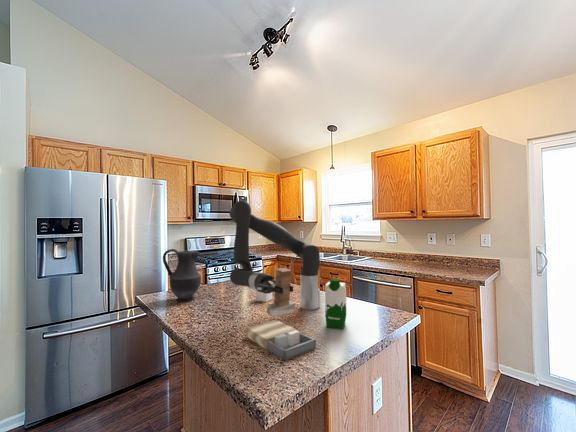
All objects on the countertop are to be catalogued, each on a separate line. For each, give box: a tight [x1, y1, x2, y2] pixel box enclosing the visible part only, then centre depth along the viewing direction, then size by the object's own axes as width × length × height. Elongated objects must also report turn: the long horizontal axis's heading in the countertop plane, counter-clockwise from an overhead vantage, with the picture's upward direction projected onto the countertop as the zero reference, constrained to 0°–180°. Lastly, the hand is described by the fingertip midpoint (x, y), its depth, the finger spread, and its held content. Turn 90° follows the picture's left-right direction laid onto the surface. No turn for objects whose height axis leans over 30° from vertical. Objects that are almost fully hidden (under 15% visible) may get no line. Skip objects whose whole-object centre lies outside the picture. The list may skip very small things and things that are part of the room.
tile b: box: [275, 334, 287, 348], centre depth 95 cm, size 4×4×2 cm
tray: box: [266, 331, 317, 362], centre depth 94 cm, size 10×14×3 cm
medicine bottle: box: [255, 290, 273, 303], centre depth 157 cm, size 7×7×12 cm
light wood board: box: [246, 319, 298, 350], centre depth 104 cm, size 14×14×4 cm
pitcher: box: [162, 248, 202, 303], centre depth 157 cm, size 17×21×30 cm
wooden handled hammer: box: [266, 267, 296, 318], centre depth 99 cm, size 4×10×16 cm, turn 129°
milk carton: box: [324, 278, 347, 330], centre depth 117 cm, size 9×9×20 cm
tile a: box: [287, 329, 300, 346], centre depth 98 cm, size 4×4×2 cm
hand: (287, 289), depth 97 cm, fingers closed on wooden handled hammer, 4 cm apart
